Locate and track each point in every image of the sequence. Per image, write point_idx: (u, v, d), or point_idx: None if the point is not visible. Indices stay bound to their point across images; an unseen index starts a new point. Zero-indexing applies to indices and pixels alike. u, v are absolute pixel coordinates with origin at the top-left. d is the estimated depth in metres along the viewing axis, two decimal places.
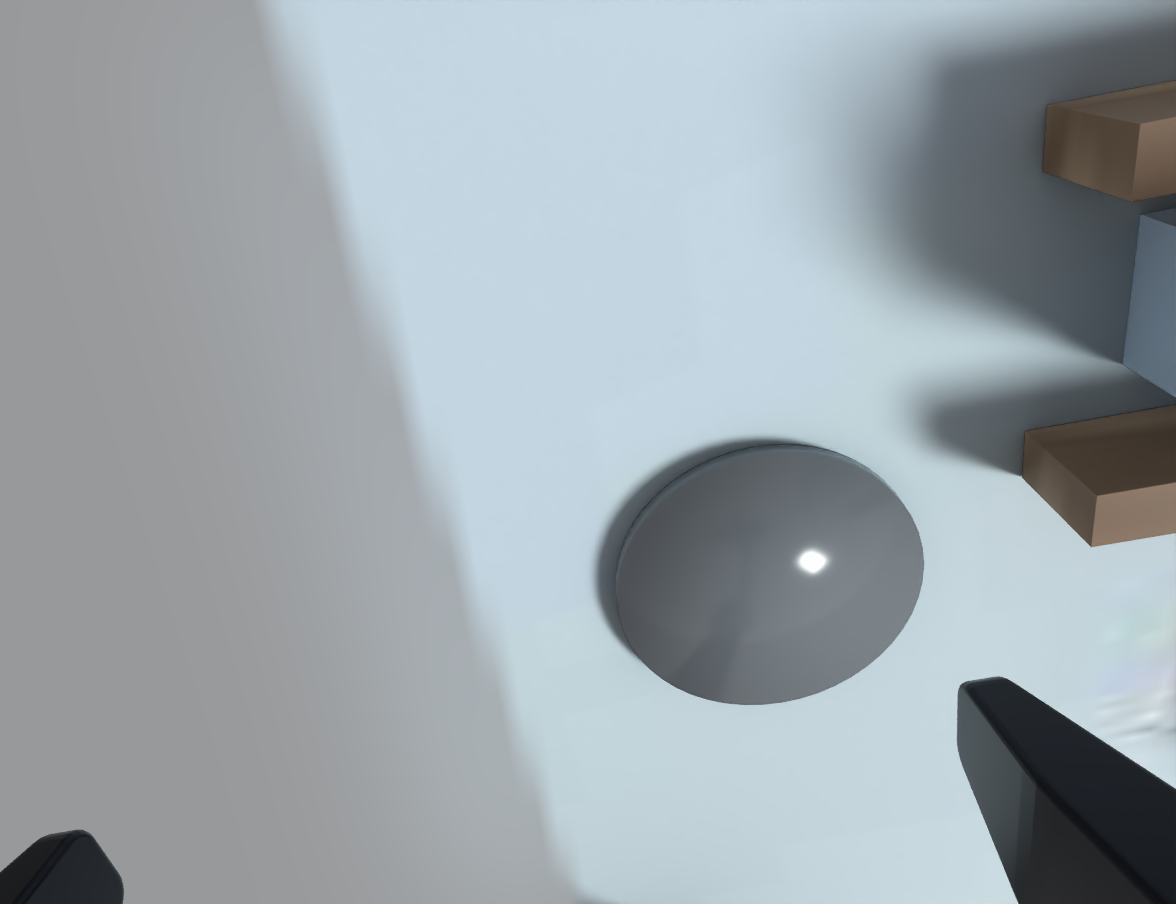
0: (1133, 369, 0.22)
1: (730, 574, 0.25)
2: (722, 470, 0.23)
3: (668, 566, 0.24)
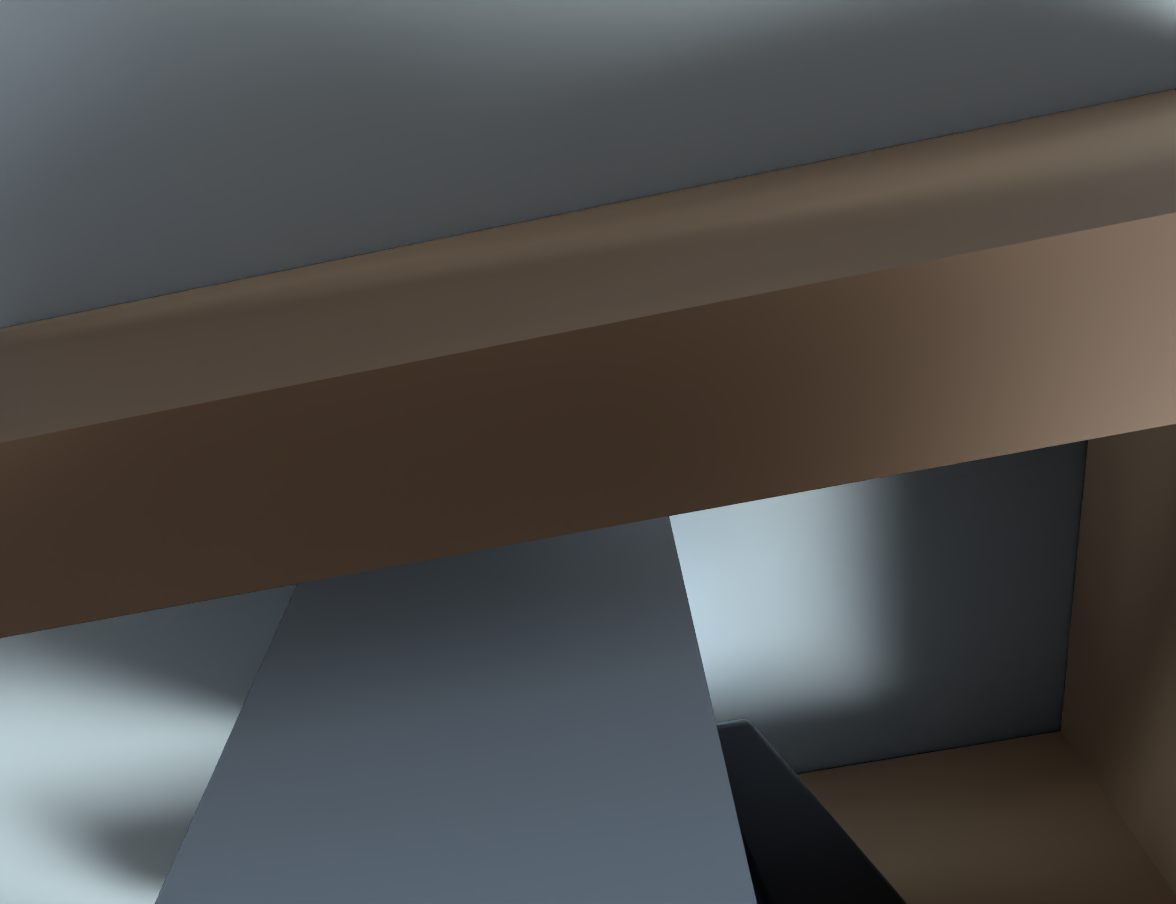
0: None
1: None
2: None
3: None
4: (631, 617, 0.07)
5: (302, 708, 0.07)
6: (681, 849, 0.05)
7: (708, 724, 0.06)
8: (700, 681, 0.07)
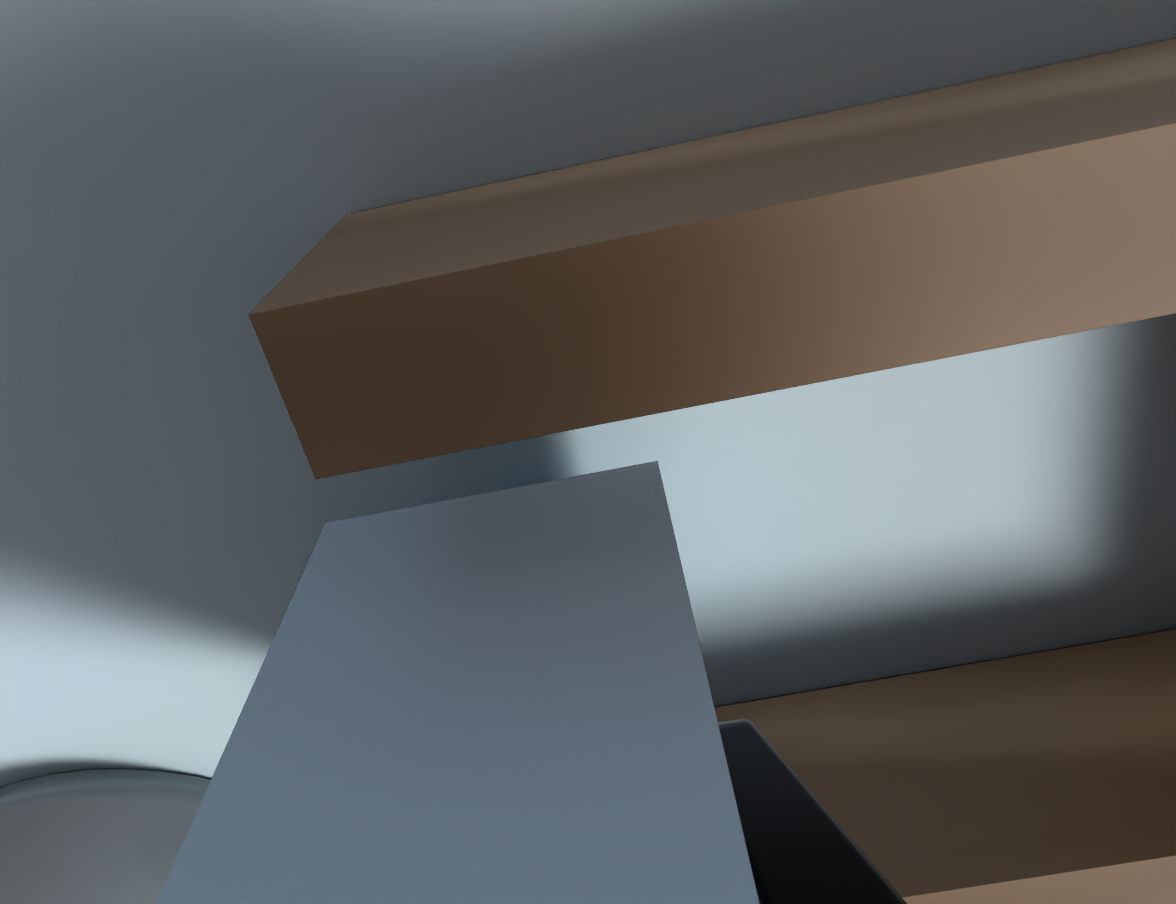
0: None
1: None
2: None
3: None
4: (633, 617, 0.07)
5: (304, 708, 0.07)
6: (684, 848, 0.05)
7: (710, 723, 0.06)
8: (702, 680, 0.07)
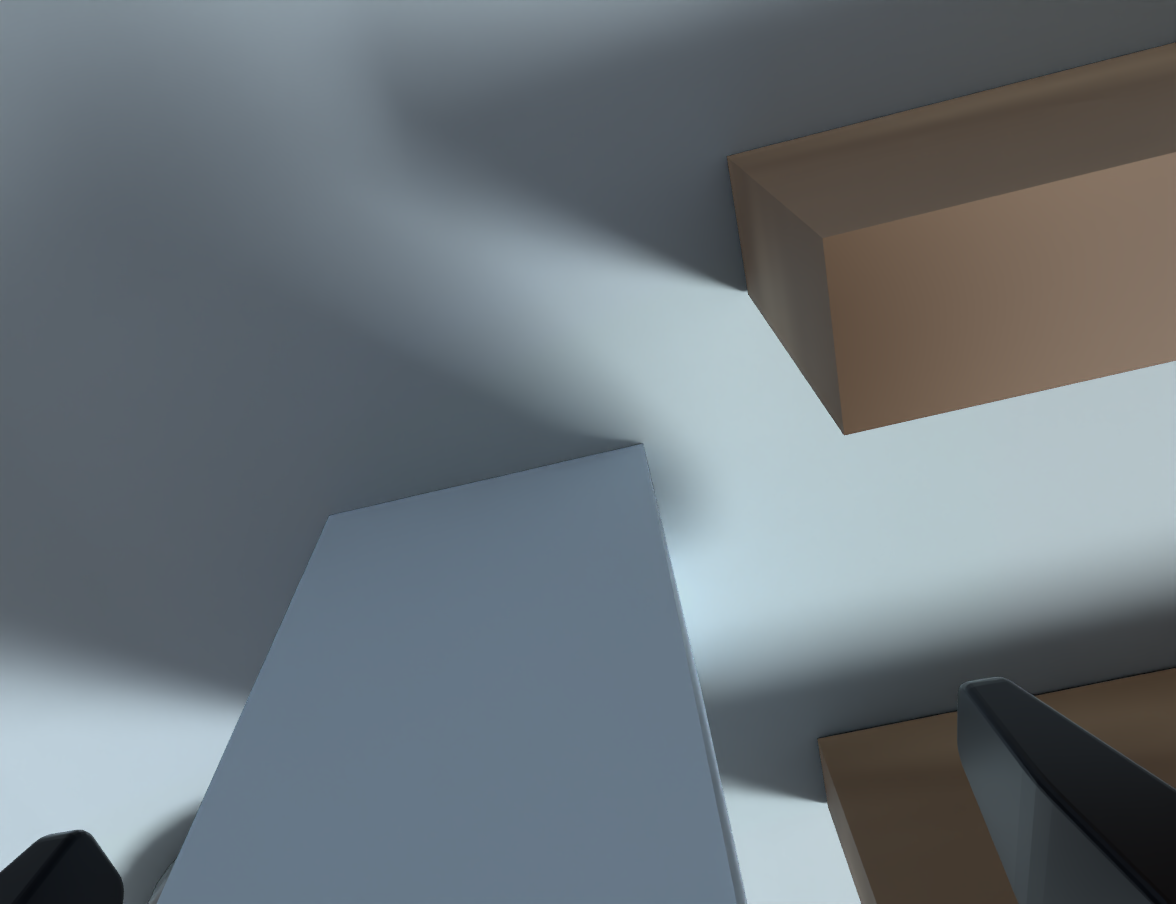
0: None
1: None
2: None
3: None
4: (615, 588, 0.08)
5: (310, 684, 0.08)
6: (656, 793, 0.06)
7: (684, 680, 0.07)
8: (678, 642, 0.07)
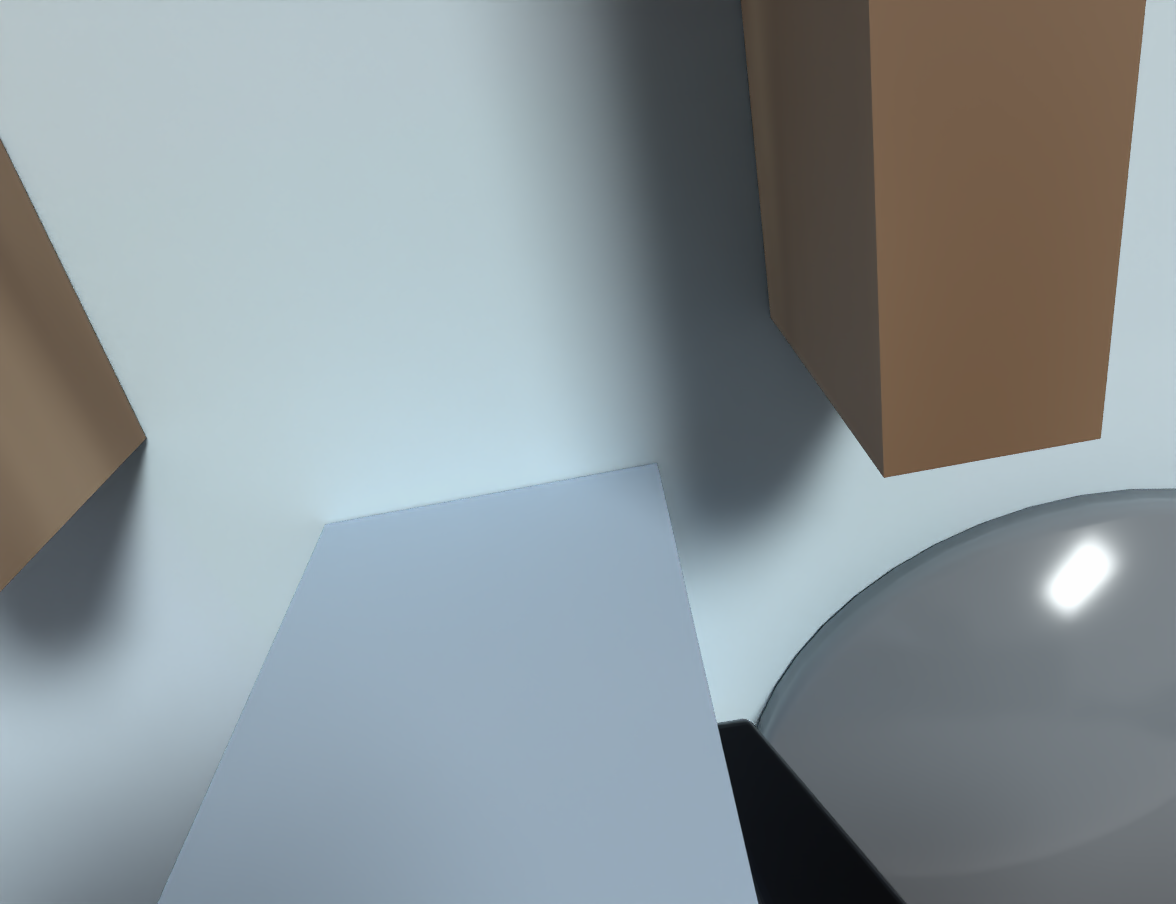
0: None
1: (1015, 851, 0.12)
2: None
3: None
4: None
5: None
6: None
7: (195, 820, 0.06)
8: (216, 772, 0.07)
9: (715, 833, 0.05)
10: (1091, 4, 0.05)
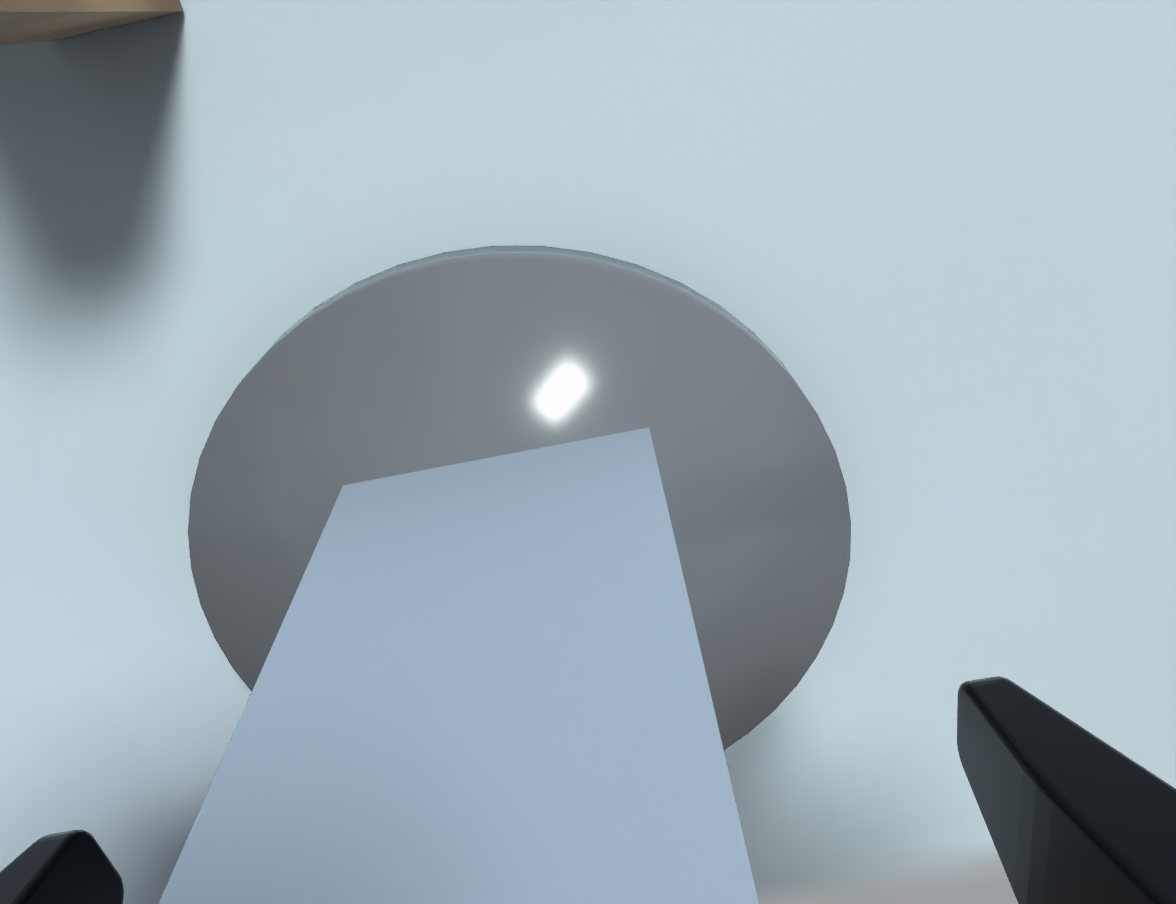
0: None
1: None
2: (253, 683, 0.12)
3: None
4: None
5: None
6: None
7: (237, 727, 0.07)
8: (254, 689, 0.08)
9: (694, 722, 0.06)
10: None
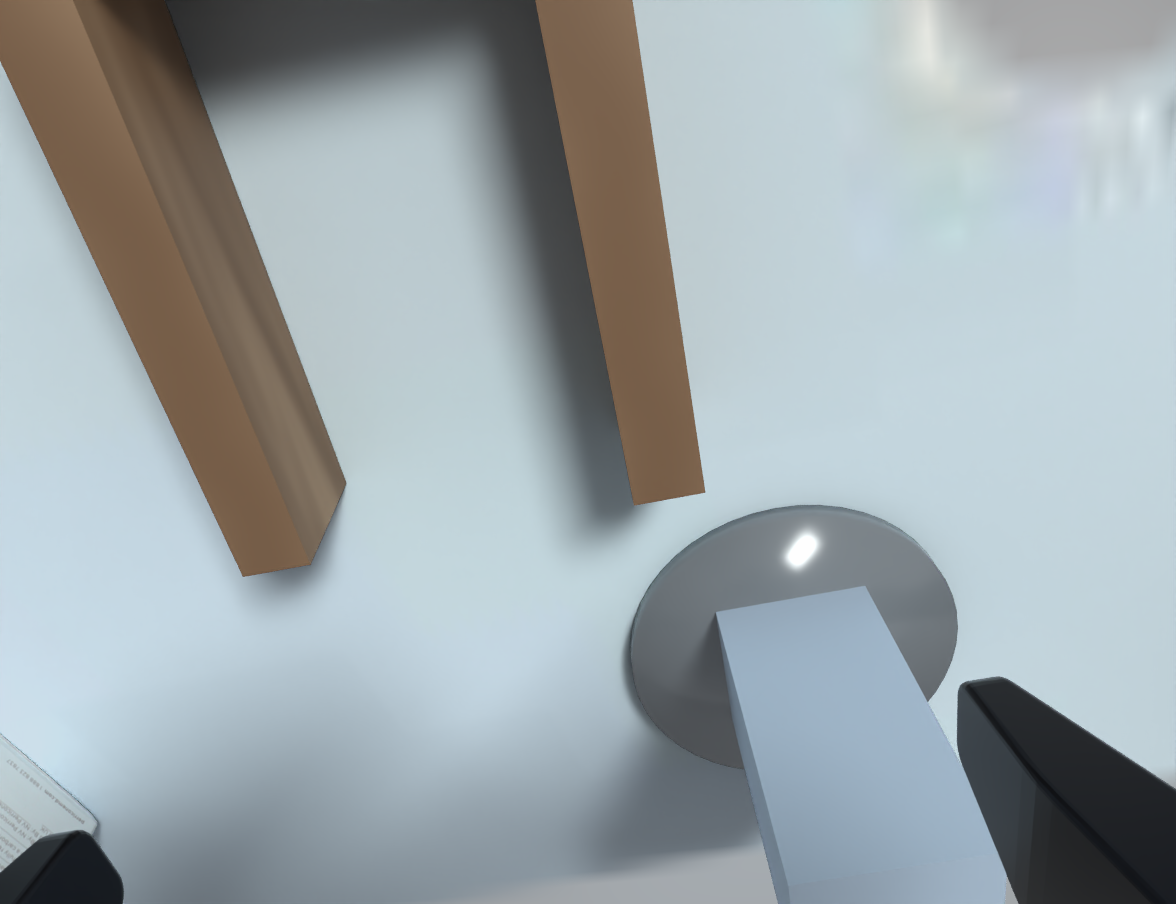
0: None
1: None
2: (647, 706, 0.24)
3: None
4: (736, 699, 0.21)
5: (752, 795, 0.21)
6: (756, 773, 0.18)
7: (745, 728, 0.19)
8: (741, 713, 0.19)
9: (932, 727, 0.18)
10: (671, 374, 0.16)
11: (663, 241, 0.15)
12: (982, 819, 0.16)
